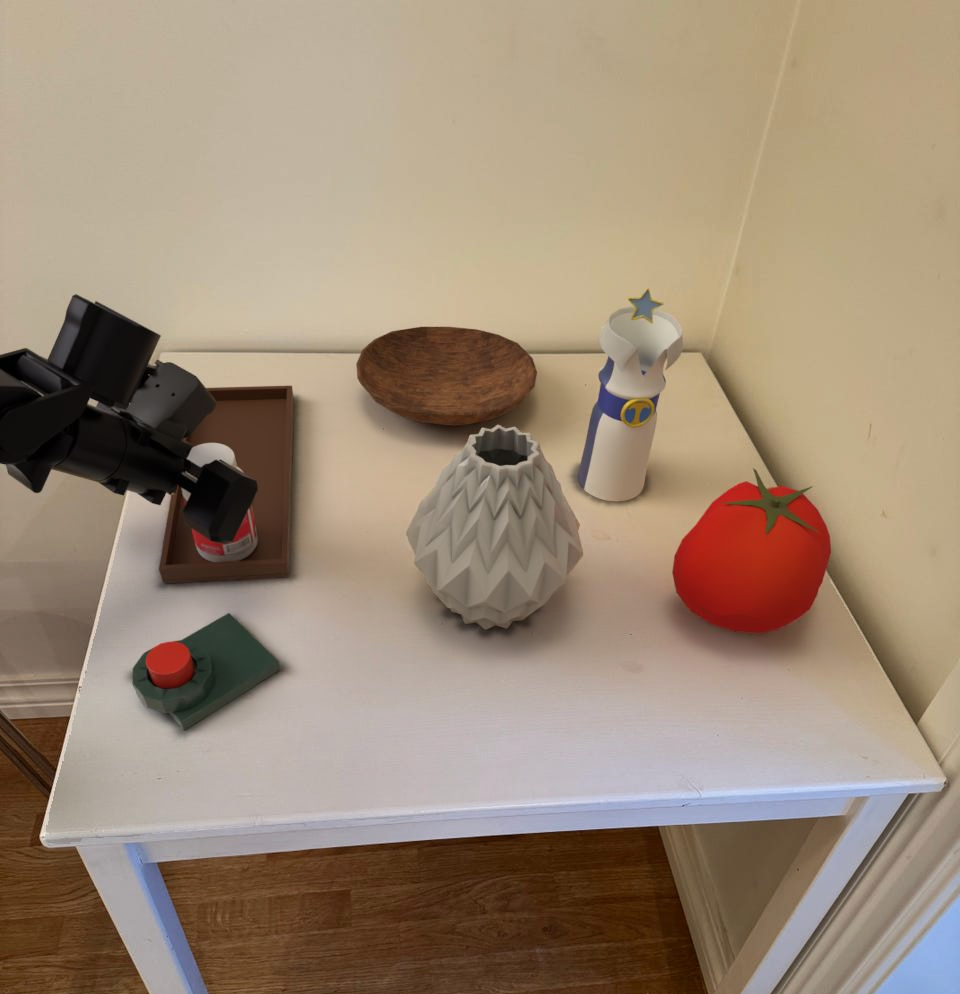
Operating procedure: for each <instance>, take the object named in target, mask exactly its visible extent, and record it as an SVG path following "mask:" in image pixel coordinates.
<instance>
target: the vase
mask: <svg viewBox="0 0 960 994" xmlns="http://www.w3.org/2000/svg"><path fill="white" fill-rule="evenodd" d="M580 527H581V524H580V521H579V520H578V518H577V516H576V515H575V512H574V511H573V509H572V507H571V505H570V503H569V502H568V500H567V498H566V495H565V494H564V493H563V489H562V485H561V482H560V481H559V480H558V479H557V476H556V473H555V471H554V467H553V466H552V465H551V463H550V462H548V461H547V460H546V457H545V455H544V452H543V450H542V448H541V444H540V442H538V441H536V440H533V438H532V434H531V432H521V431H520V430H519V429H518V427H516V426H511V427H508V428H506V427H503V425H500V424H496V425H495V426H494V427H492V428H487V427H481V428H480V430H479V432H478V433H476V434H475V433H473V434H470V435H469V436H468V439H467V441H466V442H465V444H464V446H463V448H462V449H461V450H459V451H457V452H456V454H454V456H453V458H452V459H451V461H450V462H449V464H447V465H446V466H445V467H443V468H442V469H441V471H440V473H439V476H438V478H437V481H436V483H435V486H434V487H433V488H432V489H431V490H430V491H429V493H427V495H426V496H425V497H424V498H423V499H421V501H420V502H419V504H418V505H417V509H416V511H415V514H414V516H413V518H412V520H411V522H410V524H409V525H408V528H407V530H406V532H405V535H406V538H407V540H408V542H409V544H410V547H411V549H412V551H413V554H414V560H413V565H415V567H416V568H417V569H418V570H419V572H420V573H421V574H422V576H424V578H425V581H426V582H427V584H428V586H429V587H430V588H429V589H430V590H431V591H432V592H433V593H434V594H435V596H436V597H438V599H439V600H440V602H442V604H443V605H444V606H445V607H446V608H447V609H450V612H451V613H455V614H458V615H460V616H461V618H462V620H463V622H464V624H467V625H468V624H477V625H479V627H481V628H482V629H483V630H485V631H487V630H489V629H491V628H493V627H496V626H497V627H500V628H502V629H503V628H504V629H509V627H510V626H511V625H512V623H513V622H515V621H516V622H517V621H525V620H526V618H528V617H529V616H530V615H531V614H532V613H534V612H535V611H537V610H538V609H539V608H541V607H542V606H544V605H545V604H546V603H548V601H549V600H550V599H551V597H552V595H553V594H554V593H555V591H557V590H558V589H559V588H560V587H561V586H563V585H565V583H566V582H567V577H569V575H570V574H571V572H572V571H573V570H574V568H575V567H576V566H577V564H578V563H579V562H580V560H581V559H582V558H583V556H584V549H583V546H582V542H581V537H580V533H579V530H580Z"/></svg>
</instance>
